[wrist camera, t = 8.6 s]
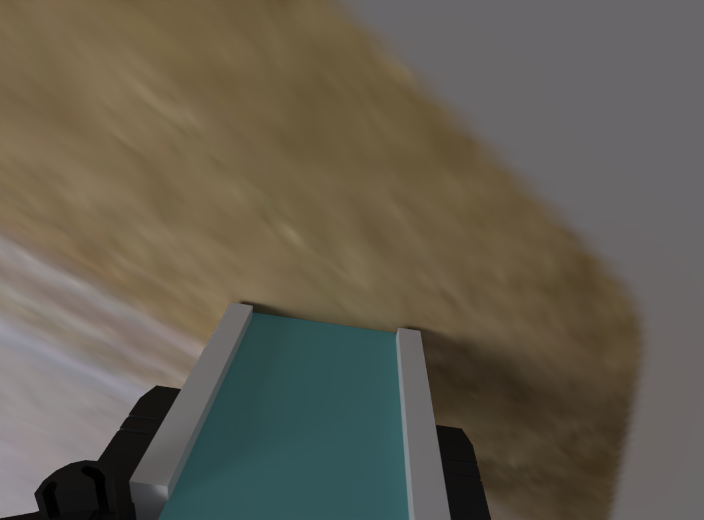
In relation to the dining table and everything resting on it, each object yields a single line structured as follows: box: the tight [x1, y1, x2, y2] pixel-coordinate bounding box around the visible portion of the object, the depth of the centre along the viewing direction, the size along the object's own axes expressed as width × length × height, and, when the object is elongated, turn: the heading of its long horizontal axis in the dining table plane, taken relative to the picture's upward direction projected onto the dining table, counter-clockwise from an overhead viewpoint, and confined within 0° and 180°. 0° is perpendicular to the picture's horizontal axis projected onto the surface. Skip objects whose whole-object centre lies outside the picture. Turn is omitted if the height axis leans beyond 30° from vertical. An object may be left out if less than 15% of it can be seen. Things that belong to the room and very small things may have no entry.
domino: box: [158, 312, 409, 520], centre depth 10 cm, size 2×5×10 cm, turn 82°
